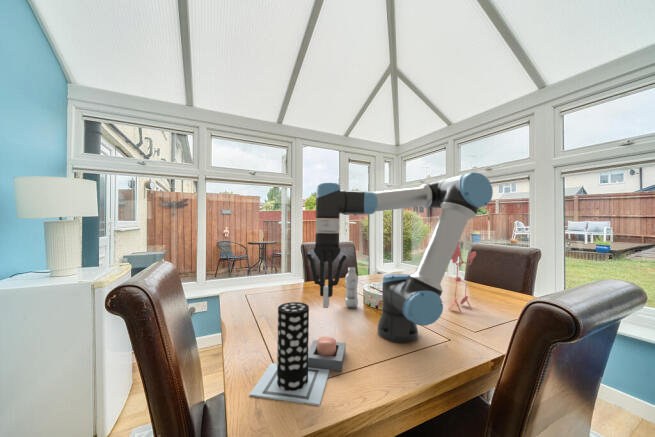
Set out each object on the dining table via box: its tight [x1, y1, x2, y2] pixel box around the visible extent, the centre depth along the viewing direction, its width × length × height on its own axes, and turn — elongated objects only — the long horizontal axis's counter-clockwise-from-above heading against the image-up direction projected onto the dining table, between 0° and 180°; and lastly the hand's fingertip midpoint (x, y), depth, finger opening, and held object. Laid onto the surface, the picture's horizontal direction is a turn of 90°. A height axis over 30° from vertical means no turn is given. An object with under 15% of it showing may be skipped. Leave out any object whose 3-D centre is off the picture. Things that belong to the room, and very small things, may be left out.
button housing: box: [308, 339, 347, 372], centre depth 81 cm, size 11×11×3 cm
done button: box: [317, 336, 337, 357], centre depth 81 cm, size 6×6×4 cm
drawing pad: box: [249, 362, 331, 406], centre depth 69 cm, size 18×14×1 cm
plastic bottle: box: [344, 266, 359, 309], centre depth 128 cm, size 6×7×20 cm
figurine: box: [448, 241, 480, 313], centre depth 130 cm, size 15×26×35 cm, turn 123°
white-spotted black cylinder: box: [276, 301, 310, 391], centre depth 69 cm, size 8×8×20 cm
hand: (326, 306), depth 81 cm, fingers closed
